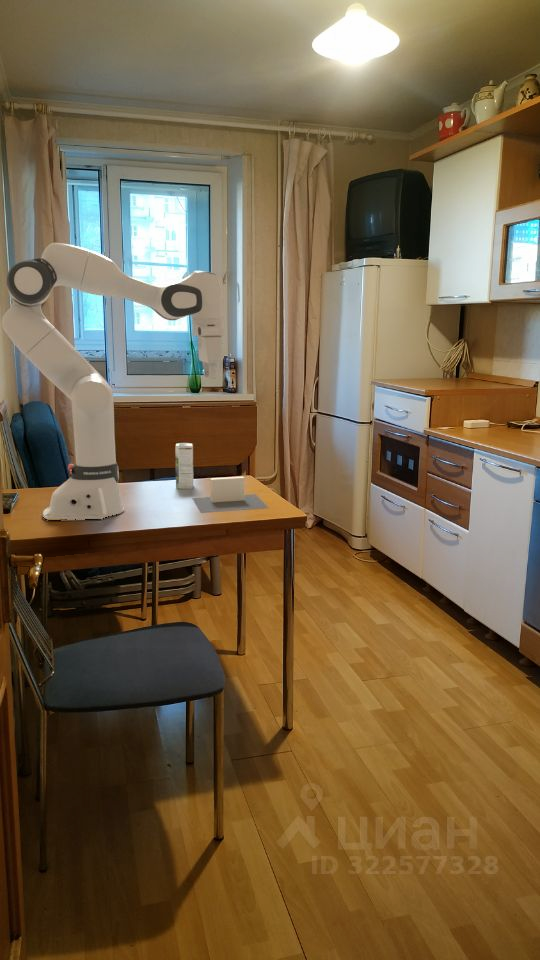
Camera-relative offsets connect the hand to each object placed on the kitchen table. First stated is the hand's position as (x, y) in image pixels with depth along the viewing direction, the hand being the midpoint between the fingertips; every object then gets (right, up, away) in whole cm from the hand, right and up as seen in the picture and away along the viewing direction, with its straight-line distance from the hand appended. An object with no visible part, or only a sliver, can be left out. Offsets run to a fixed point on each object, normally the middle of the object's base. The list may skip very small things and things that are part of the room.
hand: (210, 378), depth 200 cm
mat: (+5, -37, +5) cm, 38 cm away
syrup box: (-11, -33, +28) cm, 44 cm away
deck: (+5, -36, +7) cm, 37 cm away
